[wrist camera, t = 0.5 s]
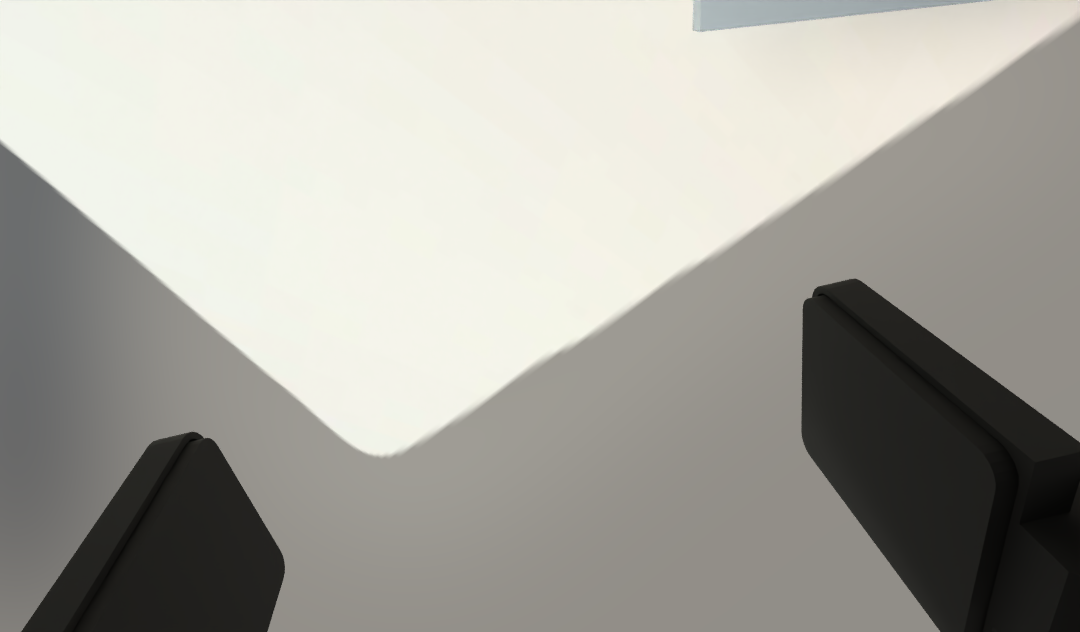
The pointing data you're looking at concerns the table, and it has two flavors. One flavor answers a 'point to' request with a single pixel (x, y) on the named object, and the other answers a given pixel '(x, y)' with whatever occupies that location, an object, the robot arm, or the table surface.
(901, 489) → the robot arm
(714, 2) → the board
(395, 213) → the table surface
